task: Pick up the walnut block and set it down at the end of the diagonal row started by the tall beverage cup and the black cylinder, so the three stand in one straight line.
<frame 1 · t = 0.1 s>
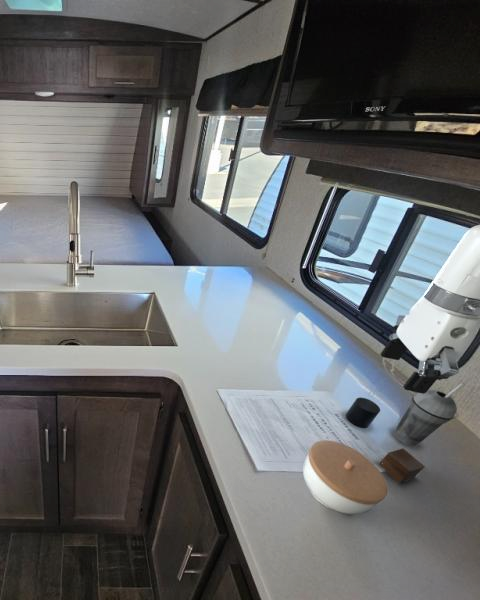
hand: (400, 373, 63), 26 cm above the worktop, tool pointing down, fingers open, 9 cm apart
walnut block: (395, 471, 73), on the worktop
black cylinder: (356, 420, 85), on the worktop
lidded bowl: (327, 493, 68), on the worktop
beverage cup: (404, 438, 81), on the worktop
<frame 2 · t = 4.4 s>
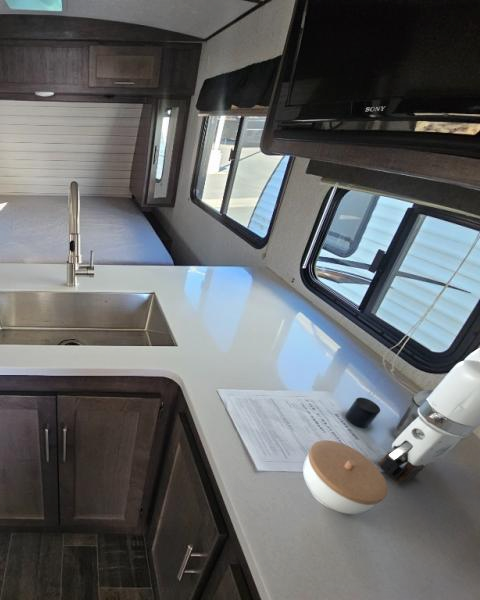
hand: (396, 469, 73), 1 cm above the worktop, tool pointing down, fingers closed on walnut block, 4 cm apart
walnut block: (395, 471, 73), on the worktop, touching gripper
everything else where it was.
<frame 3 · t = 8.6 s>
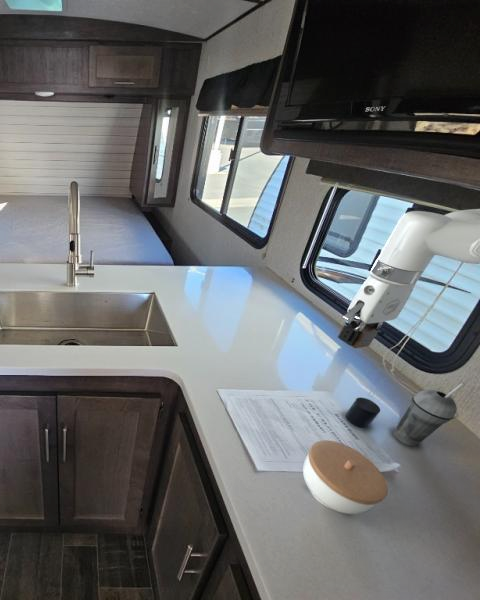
hand: (353, 339, 77), 23 cm above the worktop, tool pointing down, fingers closed on walnut block, 4 cm apart
walnut block: (352, 341, 77), point 23 cm above the worktop, touching gripper
everything else where it was.
when the fingers open (1 cm above the worktop, at t = 13.0 s): walnut block stays where it is, on the worktop.
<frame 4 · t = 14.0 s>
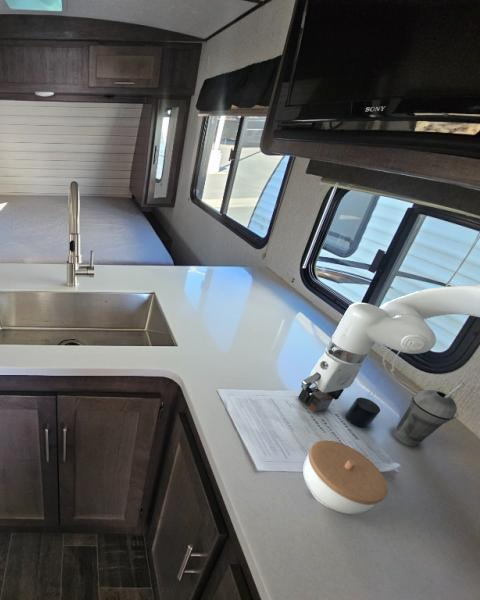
hand: (317, 398, 88), 2 cm above the worktop, tool pointing down, fingers open, 9 cm apart
walnut block: (313, 404, 89), on the worktop
everything else where it was.
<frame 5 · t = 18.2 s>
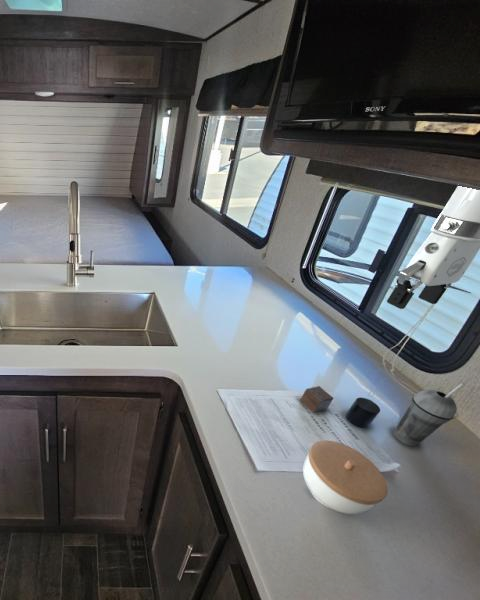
hand: (410, 303, 70), 34 cm above the worktop, tool pointing down, fingers open, 9 cm apart
nothing on the worktop moved.
at the end: walnut block 0.1 cm from the target spot, on the worktop; walnut block tilted 0°; the gripper is holding nothing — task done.
